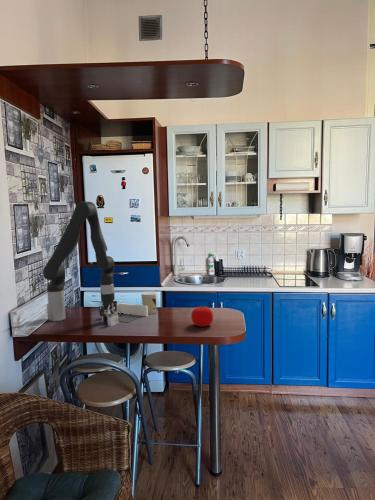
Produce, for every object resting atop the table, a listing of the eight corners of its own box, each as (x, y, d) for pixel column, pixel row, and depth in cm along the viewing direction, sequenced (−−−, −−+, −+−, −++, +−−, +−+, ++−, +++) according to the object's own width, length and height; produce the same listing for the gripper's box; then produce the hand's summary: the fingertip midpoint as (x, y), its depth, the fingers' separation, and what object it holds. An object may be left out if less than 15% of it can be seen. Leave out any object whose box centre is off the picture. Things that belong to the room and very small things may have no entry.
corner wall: (103, 318, 219) (103, 308, 218) (118, 312, 232) (118, 302, 231) (134, 322, 209) (133, 312, 209) (148, 315, 222) (147, 305, 222)
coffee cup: (156, 314, 225) (155, 294, 224) (141, 314, 225) (140, 295, 224) (158, 310, 234) (157, 291, 233) (143, 310, 235) (142, 291, 233)
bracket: (118, 322, 210) (118, 314, 209) (111, 326, 203) (110, 317, 203) (104, 321, 214) (104, 312, 213) (96, 324, 208) (96, 315, 207)
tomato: (214, 328, 195) (214, 308, 194) (192, 329, 194) (191, 309, 193) (211, 321, 207) (211, 303, 206) (190, 322, 206) (190, 304, 205)
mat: (113, 320, 214) (113, 320, 214) (125, 315, 224) (125, 314, 224) (128, 322, 209) (128, 322, 209) (139, 317, 220) (139, 316, 220)
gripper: (110, 289, 218) (111, 317, 219) (93, 294, 205) (95, 324, 206) (120, 289, 214) (121, 318, 216) (104, 295, 202) (106, 325, 203)
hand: (109, 321), depth 211 cm, fingers open, 5 cm apart
